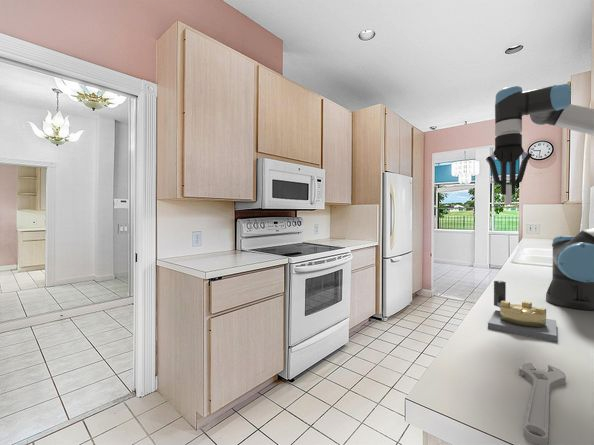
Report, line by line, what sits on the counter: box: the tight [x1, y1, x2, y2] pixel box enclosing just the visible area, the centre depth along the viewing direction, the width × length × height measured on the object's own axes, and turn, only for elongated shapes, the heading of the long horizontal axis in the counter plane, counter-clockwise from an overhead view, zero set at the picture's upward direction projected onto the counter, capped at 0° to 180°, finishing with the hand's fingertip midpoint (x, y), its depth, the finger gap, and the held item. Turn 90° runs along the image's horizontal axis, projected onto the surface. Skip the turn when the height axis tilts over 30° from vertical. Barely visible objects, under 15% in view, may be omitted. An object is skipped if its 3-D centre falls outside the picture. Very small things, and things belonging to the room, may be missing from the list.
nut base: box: [487, 309, 558, 343], centre depth 83 cm, size 19×15×2 cm
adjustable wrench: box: [518, 362, 567, 445], centre depth 49 cm, size 25×6×2 cm, turn 134°
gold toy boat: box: [493, 280, 547, 327], centre depth 85 cm, size 18×10×8 cm, turn 173°
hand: (507, 204), depth 102 cm, fingers closed
